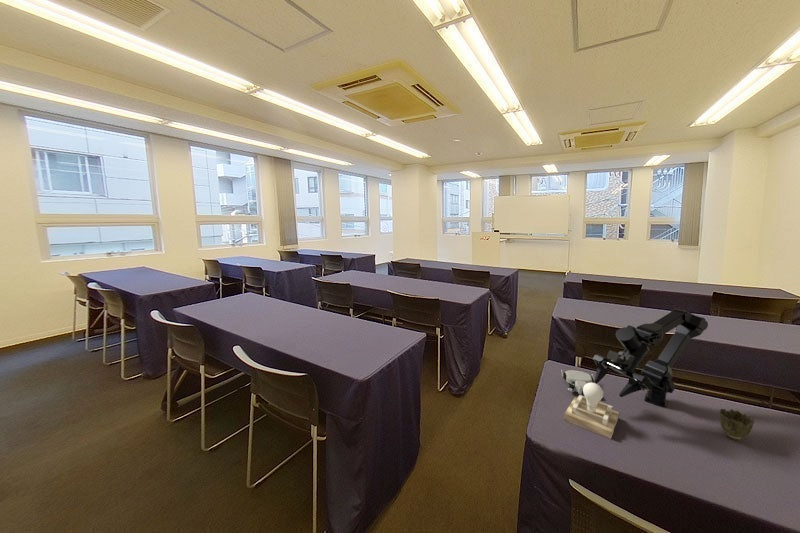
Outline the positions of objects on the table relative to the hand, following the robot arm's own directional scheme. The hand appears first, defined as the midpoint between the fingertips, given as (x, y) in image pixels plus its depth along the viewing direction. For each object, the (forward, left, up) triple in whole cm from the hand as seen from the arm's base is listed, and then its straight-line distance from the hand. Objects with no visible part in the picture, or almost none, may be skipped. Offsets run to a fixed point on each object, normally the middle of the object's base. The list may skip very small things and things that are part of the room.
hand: (607, 389), depth 109 cm
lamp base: (+6, -3, -10) cm, 12 cm away
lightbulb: (+5, -3, -8) cm, 10 cm away
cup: (-15, +33, -11) cm, 38 cm away
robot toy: (-15, -11, -11) cm, 21 cm away
